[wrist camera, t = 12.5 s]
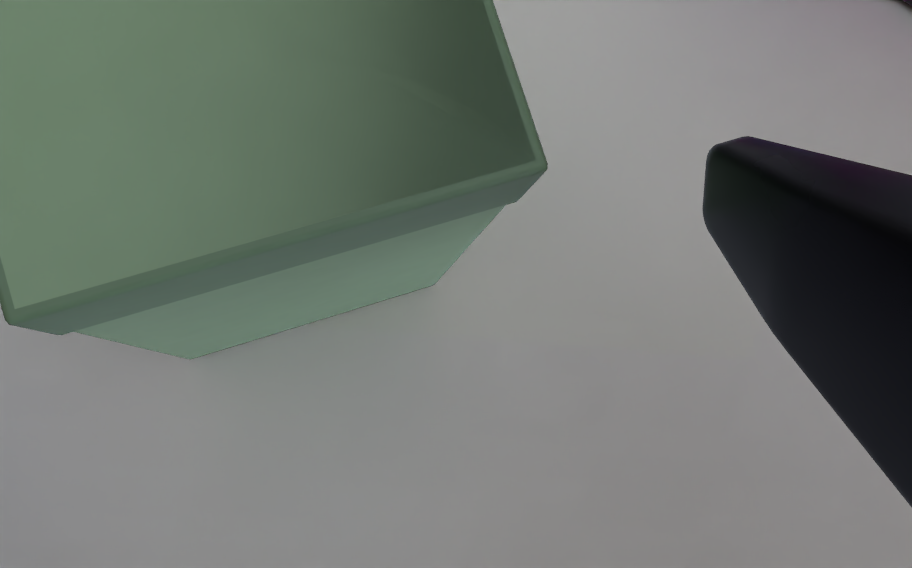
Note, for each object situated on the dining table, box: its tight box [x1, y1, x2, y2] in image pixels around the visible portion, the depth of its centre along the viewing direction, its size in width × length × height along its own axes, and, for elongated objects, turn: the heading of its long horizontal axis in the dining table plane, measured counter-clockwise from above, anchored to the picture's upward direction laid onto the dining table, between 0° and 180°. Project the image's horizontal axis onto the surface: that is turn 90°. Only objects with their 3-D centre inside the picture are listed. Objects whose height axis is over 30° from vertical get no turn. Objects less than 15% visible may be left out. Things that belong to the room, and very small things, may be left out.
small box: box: [0, 0, 548, 359], centre depth 12 cm, size 5×5×9 cm
